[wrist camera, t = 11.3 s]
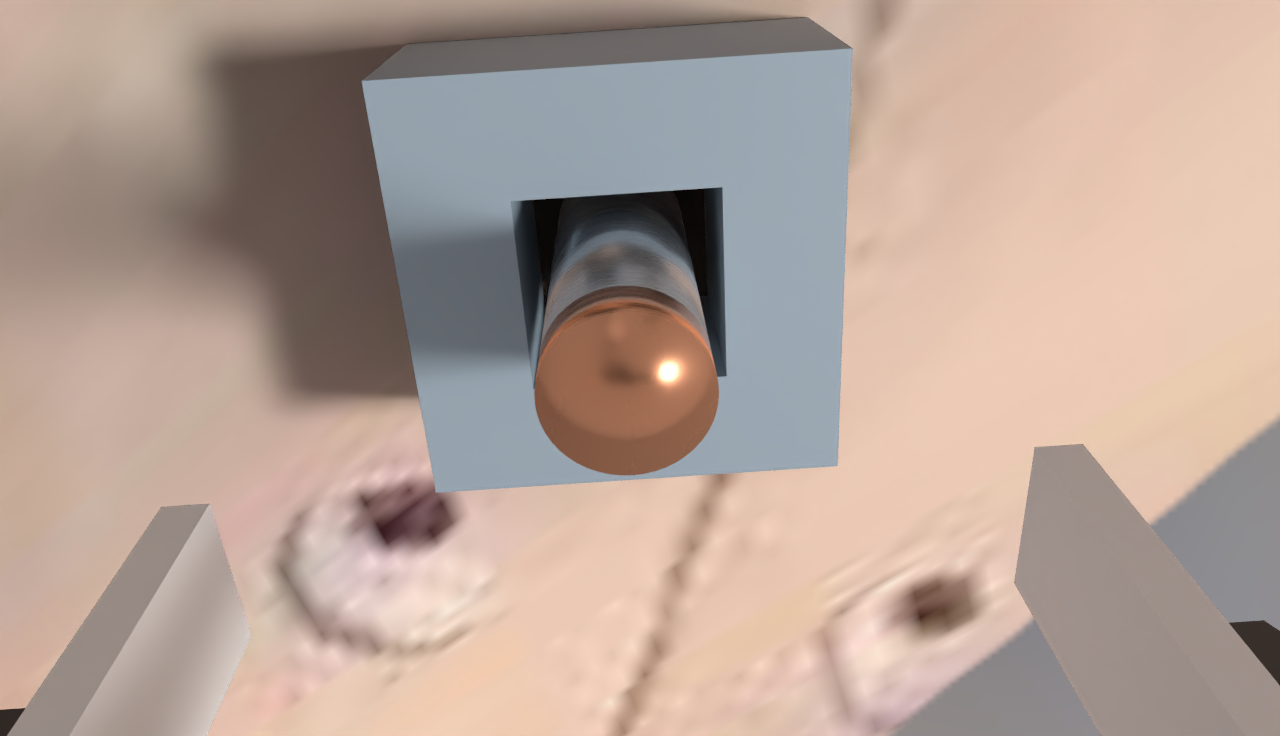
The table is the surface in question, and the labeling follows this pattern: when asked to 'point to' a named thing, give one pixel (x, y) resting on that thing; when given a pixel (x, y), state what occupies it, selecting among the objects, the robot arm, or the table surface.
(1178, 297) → the table surface
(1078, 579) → the robot arm
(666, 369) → the lock pin
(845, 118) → the socket
